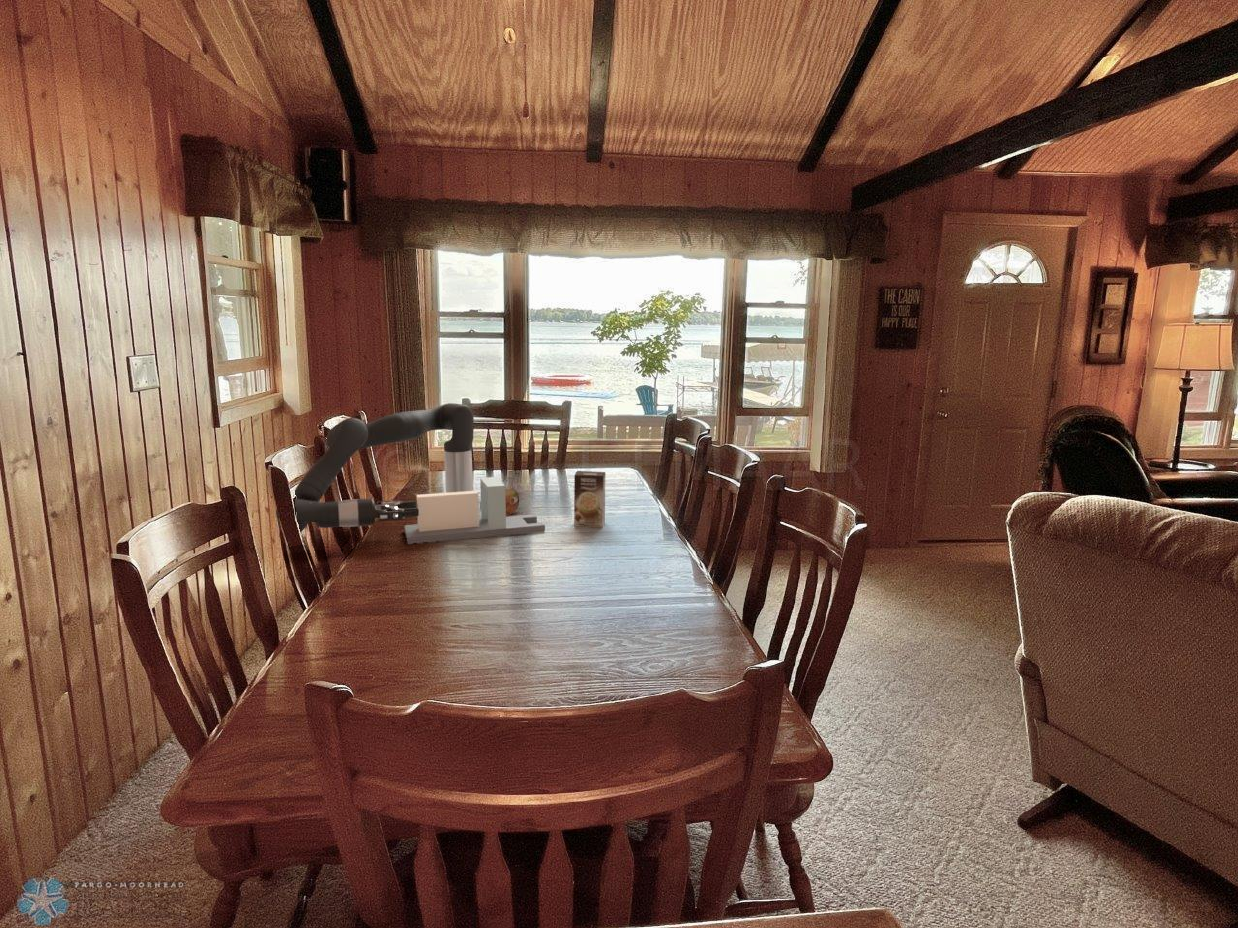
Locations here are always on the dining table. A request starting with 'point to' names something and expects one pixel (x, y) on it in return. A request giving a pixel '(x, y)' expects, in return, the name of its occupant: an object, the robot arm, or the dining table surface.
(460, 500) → the block
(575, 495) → the coffee box
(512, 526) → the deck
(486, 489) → the tunnel
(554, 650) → the dining table surface
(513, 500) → the tin
